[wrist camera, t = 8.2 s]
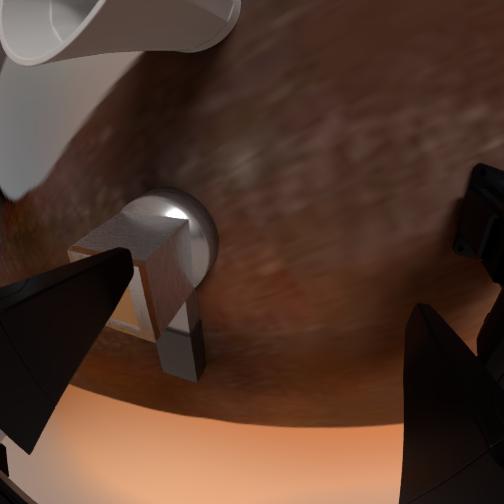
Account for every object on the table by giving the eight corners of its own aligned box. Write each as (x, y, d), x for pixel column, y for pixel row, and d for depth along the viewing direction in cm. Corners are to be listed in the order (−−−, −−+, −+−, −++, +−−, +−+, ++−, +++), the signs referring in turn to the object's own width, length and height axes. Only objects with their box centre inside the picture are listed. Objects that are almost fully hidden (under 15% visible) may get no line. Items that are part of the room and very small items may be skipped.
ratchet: (127, 183, 23) (76, 212, 18) (218, 192, 21) (178, 228, 16) (157, 351, 33) (132, 389, 28) (223, 370, 31) (203, 415, 26)
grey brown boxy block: (188, 219, 20) (138, 267, 15) (194, 287, 23) (156, 343, 18) (122, 210, 21) (67, 250, 16) (133, 274, 24) (90, 319, 19)
